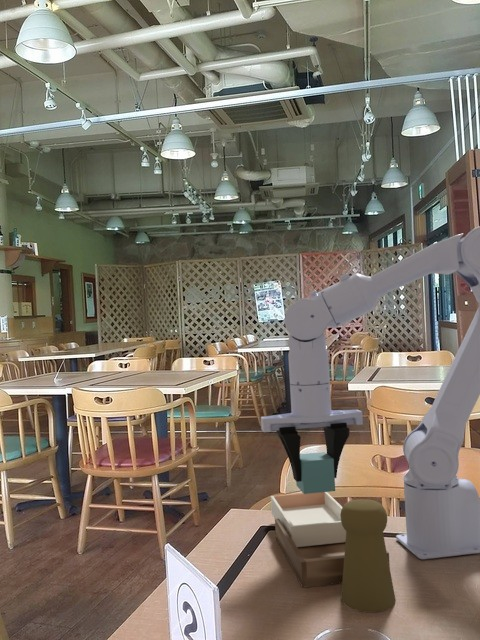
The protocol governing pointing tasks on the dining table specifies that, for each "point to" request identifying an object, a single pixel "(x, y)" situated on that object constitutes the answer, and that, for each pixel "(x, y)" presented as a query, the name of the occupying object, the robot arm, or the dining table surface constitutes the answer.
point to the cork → (366, 557)
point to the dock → (313, 559)
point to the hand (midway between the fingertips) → (314, 478)
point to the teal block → (316, 473)
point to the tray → (309, 518)
